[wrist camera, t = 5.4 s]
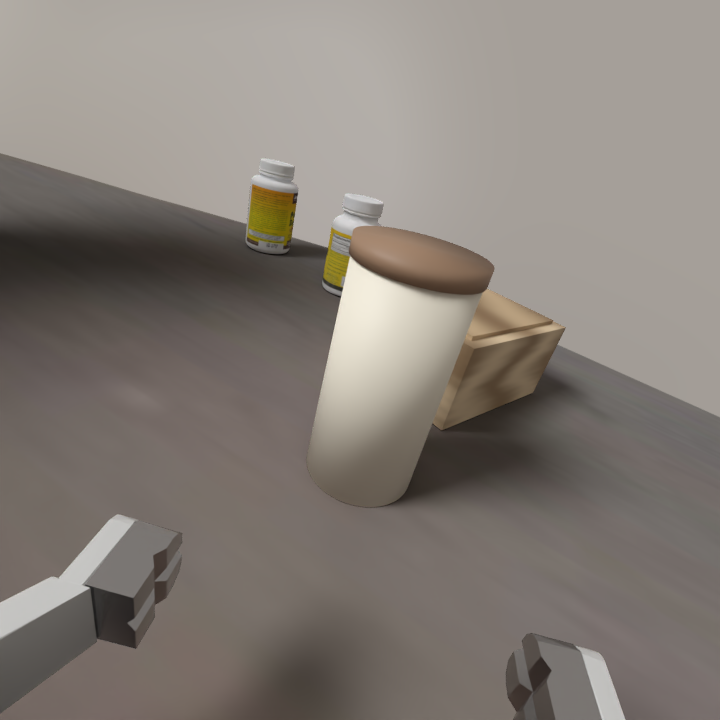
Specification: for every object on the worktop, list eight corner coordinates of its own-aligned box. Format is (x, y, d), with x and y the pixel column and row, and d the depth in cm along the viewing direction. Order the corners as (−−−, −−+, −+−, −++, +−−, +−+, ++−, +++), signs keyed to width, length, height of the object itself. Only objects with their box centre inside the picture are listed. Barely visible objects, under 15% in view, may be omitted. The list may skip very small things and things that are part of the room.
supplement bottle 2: (340, 278, 49) (359, 192, 45) (378, 295, 47) (401, 206, 42) (310, 285, 45) (327, 189, 40) (350, 304, 43) (372, 205, 38)
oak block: (441, 430, 27) (475, 344, 24) (332, 342, 34) (348, 268, 31) (532, 392, 34) (567, 324, 31) (428, 327, 42) (448, 267, 39)
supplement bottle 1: (292, 258, 52) (305, 170, 47) (246, 252, 50) (255, 159, 45) (286, 245, 56) (297, 164, 52) (243, 239, 54) (251, 154, 50)
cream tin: (349, 527, 19) (428, 275, 13) (283, 446, 22) (324, 221, 17) (433, 483, 22) (522, 272, 17) (365, 420, 26) (420, 229, 20)
